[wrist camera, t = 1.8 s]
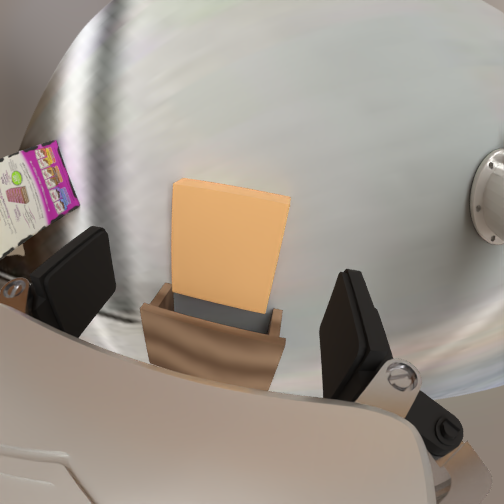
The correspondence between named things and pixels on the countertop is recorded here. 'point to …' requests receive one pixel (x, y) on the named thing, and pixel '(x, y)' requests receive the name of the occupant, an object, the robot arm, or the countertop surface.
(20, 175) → the candy bar box
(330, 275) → the countertop surface
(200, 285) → the orange cover
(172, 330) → the walnut shelf
